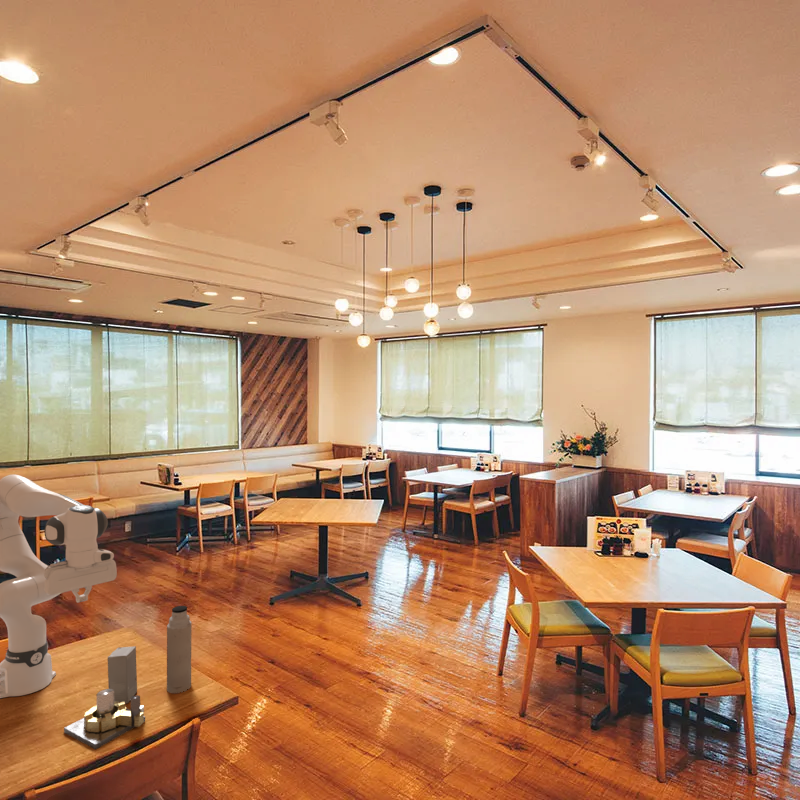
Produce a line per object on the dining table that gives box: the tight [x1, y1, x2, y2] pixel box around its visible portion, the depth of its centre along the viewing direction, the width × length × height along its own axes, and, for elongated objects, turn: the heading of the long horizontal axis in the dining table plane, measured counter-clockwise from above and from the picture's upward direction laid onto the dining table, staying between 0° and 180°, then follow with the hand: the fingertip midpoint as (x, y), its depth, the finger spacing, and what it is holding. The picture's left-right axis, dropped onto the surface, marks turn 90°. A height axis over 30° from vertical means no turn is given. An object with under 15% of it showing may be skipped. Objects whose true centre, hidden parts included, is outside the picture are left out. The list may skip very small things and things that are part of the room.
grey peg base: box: [63, 688, 146, 750], centre depth 169 cm, size 18×16×10 cm
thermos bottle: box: [166, 605, 192, 694], centre depth 193 cm, size 8×8×28 cm
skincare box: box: [107, 646, 138, 704], centre depth 186 cm, size 8×7×16 cm
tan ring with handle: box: [83, 695, 145, 732], centre depth 169 cm, size 18×11×8 cm, turn 82°
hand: (81, 601), depth 174 cm, fingers closed
